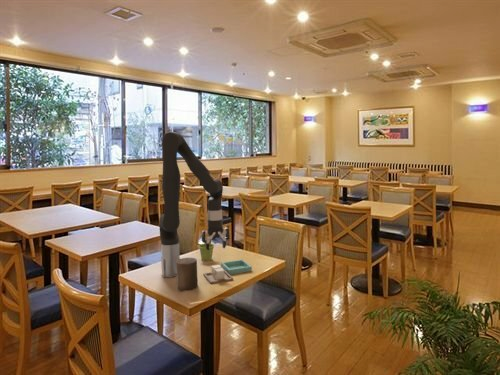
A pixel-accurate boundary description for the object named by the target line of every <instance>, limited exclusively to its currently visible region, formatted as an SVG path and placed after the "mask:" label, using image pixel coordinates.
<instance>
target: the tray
mask: <svg viewBox="0 0 500 375" xmlns="http://www.w3.org/2000/svg"><path fill="white" fill-rule="evenodd" d="M223 270H224V269H223ZM224 273H225V279H221V280H216V279H215V277H213V276H212V271H211V272H203V273H202V274H203V277H204V278H205V279H206V280H207V281H208V283H209V284H210V285H213V284H217V283H223V282H224V283H225V282H229V281H233V280H234V278H233V276H232V274H229V273H228V272H227V271H226V270H224Z"/></svg>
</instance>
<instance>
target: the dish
mask: <svg viewBox="0 0 500 375" xmlns="http://www.w3.org/2000/svg"><path fill="white" fill-rule="evenodd" d="M220 264H221V265H220V266H221V268H223V270H226V271H227V272H228V273H229V274H230V275H235V274H241V273H247V272H248V273H249V272H252V271H253V270H252V266H251V265H250V264H249V263H248V262H247V261H246V260H244V259H238V260H229V261H224V262H223V261H221V263H220Z"/></svg>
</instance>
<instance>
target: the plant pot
mask: <svg viewBox="0 0 500 375" xmlns="http://www.w3.org/2000/svg"><path fill="white" fill-rule="evenodd" d="M214 247H215V244H214V243H209V250H207V249H206V243H201V244H198V249H199V250H200V251H199V253H200V258H201V260H202V261H203V262H204V261H205V262H207V261H208V262H209V261H211V260H213V251H214Z"/></svg>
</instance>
